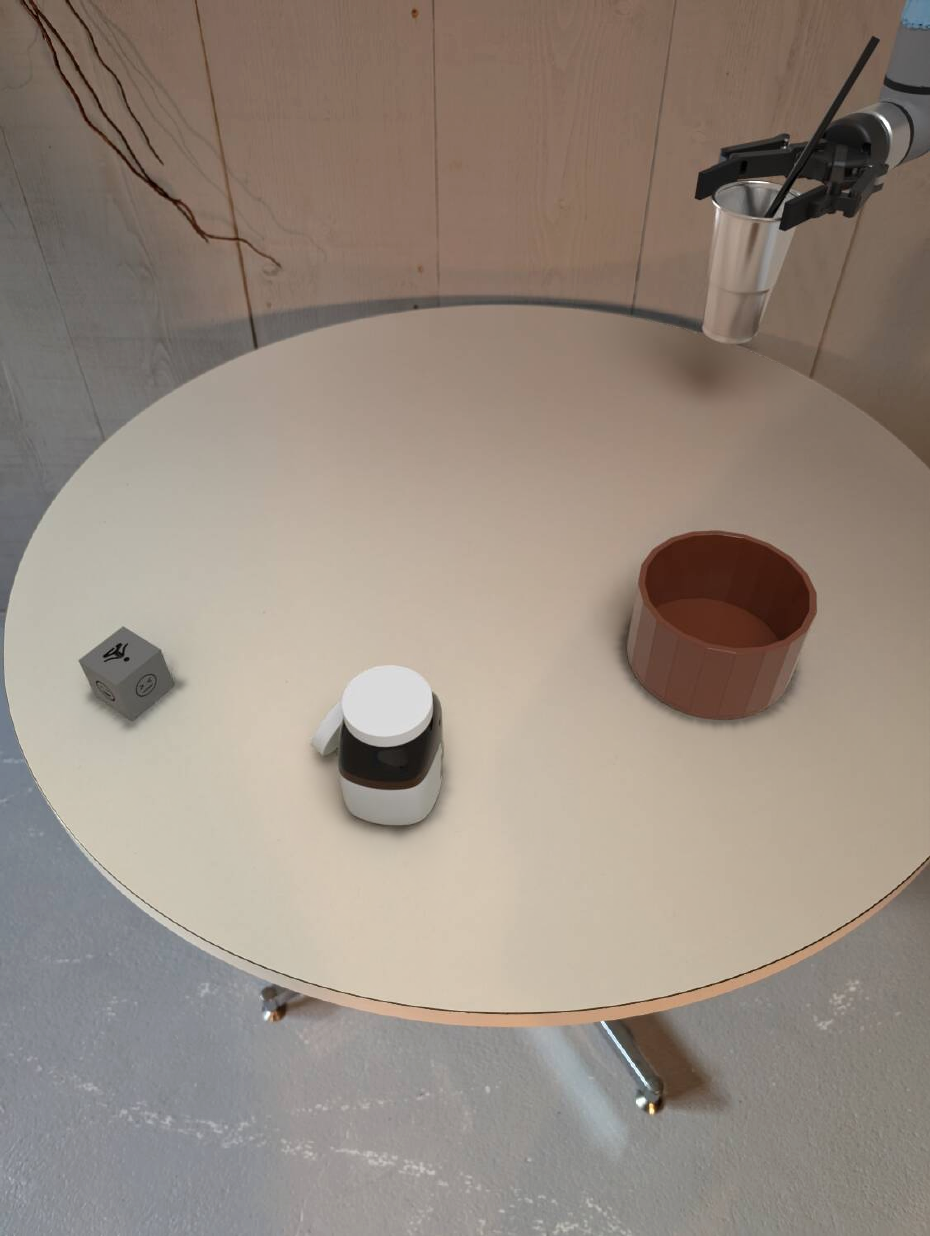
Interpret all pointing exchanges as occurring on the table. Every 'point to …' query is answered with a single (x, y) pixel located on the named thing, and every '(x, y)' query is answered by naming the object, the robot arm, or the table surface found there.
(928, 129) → the robot arm
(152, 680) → the dice cube
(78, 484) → the table surface
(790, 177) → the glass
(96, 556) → the table surface
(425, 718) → the spread jar
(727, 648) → the crock
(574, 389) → the table surface
